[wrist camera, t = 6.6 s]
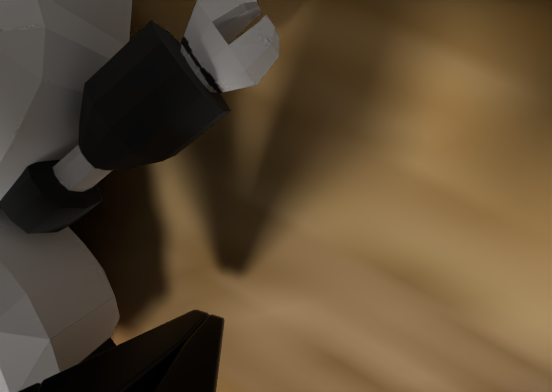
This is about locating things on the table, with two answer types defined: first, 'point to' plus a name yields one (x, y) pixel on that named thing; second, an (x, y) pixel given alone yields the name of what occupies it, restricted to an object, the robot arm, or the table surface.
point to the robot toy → (94, 150)
